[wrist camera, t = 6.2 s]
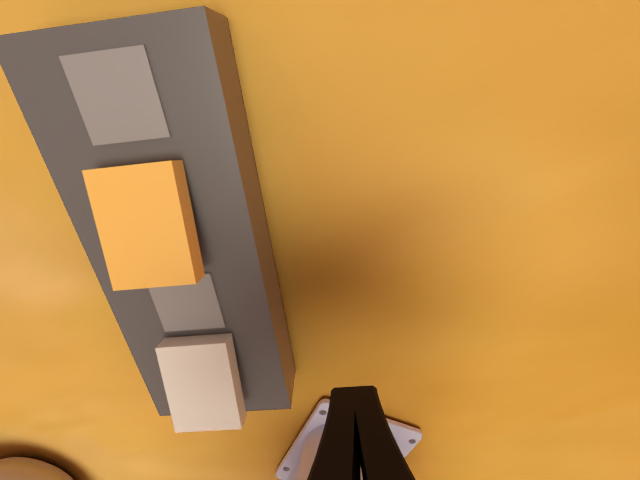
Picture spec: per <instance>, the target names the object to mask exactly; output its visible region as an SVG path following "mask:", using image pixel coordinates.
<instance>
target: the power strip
mask: <svg viewBox="0 0 640 480" xmlns="http://www.w3.org/2000/svg"><path fill="white" fill-rule="evenodd" d="M0 64H1V67H2V69H3V71H4V73H5V75H6V78H7V80H8V82H9V84H10V86H11V89H12V91H13V93H14V95H15V97H16V100H17V102H18V104H19V106H20V108H21V111H22V113H23V115H24V117H25V119H26V122H27V124H28V126H29V128H30V130H31V133H32V135H33V137H34V139H35V141H36V144H37V146H38V148H39V150H40V153H41V155H42V157H43V159H44V161H45V164H46V166H47V168H48V170H49V172H50V175H51V177H52V179H53V181H54V183H55V186H56V188H57V190H58V192H59V194H60V197H61V199H62V201H63V203H64V205H65V208H66V210H67V212H68V214H69V216H70V219H71V221H72V223H73V225H74V227H75V230H76V232H77V234H78V236H79V238H80V241H81V243H82V245H83V247H84V249H85V252H86V254H87V256H88V258H89V261H90V263H91V265H92V267H93V269H94V272H95V274H96V276H97V278H98V280H99V283H100V285H101V287H102V289H103V291H104V294H105V296H106V298H107V300H108V302H109V305H110V307H111V309H112V311H113V313H114V316H115V318H116V320H117V322H118V324H119V327H120V329H121V331H122V333H123V335H124V338H125V340H126V342H127V344H128V346H129V349H130V351H131V353H132V355H133V357H134V360H135V362H136V364H137V366H138V369H139V371H140V373H141V375H142V377H143V380H144V382H145V384H146V386H147V388H148V391H149V393H150V395H151V397H152V399H153V402H154V404H155V406H156V408H157V410H158V413H159V415H160V416H168V415H171V413H170V409H169V404H168V400H167V396H166V392H165V388H164V384H163V379H162V375H161V371H160V367H159V363H158V359H157V354H156V350H155V348H156V347H157V345H158V344H159V343H160V342H161V341H162V340H163V339H164V338H170V337H183V336H197V335H211V334H225V333H232V338H233V344H234V349H235V355H236V360H237V366H238V371H239V377H240V382H241V388H242V393H243V399H244V404H245V410H246V411H257V410H275V409H291V403H292V395H293V386H294V377H295V365H294V359H293V354H292V349H291V344H290V339H289V334H288V329H287V323H286V318H285V313H284V308H283V303H282V298H281V292H280V287H279V282H278V277H277V272H276V267H275V262H274V256H273V251H272V246H271V241H270V236H269V231H268V225H267V220H266V215H265V210H264V205H263V200H262V195H261V189H260V184H259V179H258V174H257V169H256V164H255V158H254V153H253V148H252V143H251V138H250V133H249V128H248V122H247V117H246V112H245V107H244V102H243V97H242V91H241V86H240V81H239V76H238V71H237V66H236V61H235V55H234V50H233V45H232V40H231V35H230V30H229V24H228V19H227V17H225V16H223V15H221V14H219V13H217V12H215V11H213V10H211V9H209V8H207V7H205V6H200V7H193V8H186V9H179V10H172V11H165V12H158V13H151V14H144V15H137V16H130V17H123V18H116V19H109V20H102V21H95V22H88V23H81V24H74V25H67V26H60V27H53V28H46V29H39V30H32V31H25V32H18V33H11V34H4V35H0ZM171 160H183V164H184V170H185V175H186V180H187V185H188V190H189V196H190V201H191V206H192V211H193V216H194V221H195V227H196V232H197V237H198V242H199V247H200V252H201V258H202V263H203V268H204V273H205V276H204V277H203V278H202V279H201V280H200V281H199V282H198V283H197V284H190V285H178V286H166V287H155V288H143V289H131V290H119V291H113V288H112V284H111V281H110V277H109V273H108V269H107V265H106V262H105V258H104V254H103V250H102V246H101V242H100V239H99V235H98V231H97V227H96V223H95V219H94V216H93V212H92V208H91V204H90V200H89V196H88V193H87V189H86V185H85V181H84V177H83V174H82V170H90V169H99V168H108V167H117V166H126V165H135V164H144V163H153V162H162V161H171Z"/></svg>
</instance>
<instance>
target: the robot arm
mask: <svg viewBox="0 0 640 480" xmlns="http://www.w3.org/2000/svg"><path fill="white" fill-rule="evenodd" d="M421 439H422V432H421V430H420V429H418V428H415V427H412V426H409V425H406V424H403V423H400V422H397V421H394V420H391V419H388V418H386V417H385V415H384V412H383V409H382V406H381V403H380V400H379V397H378V393H377V389H376V388H375V387H374V386H358V387H341V388H334V389H332V390H331V396H330V399H322V400H320V401H319V403H318V405H317V406H316V408H315V409H314V411H313V412H312V414H311V416H310V417H309V419H308V420H307V422H306V424H305V425H304V427H303V428H302V430H301V432H300V433H299V435H298V436H297V438H296V439H295V441H294V443H293V444H292V446H291V447H290V449H289V451H288V452H287V454H286V455H285V457H284V459H283V460H282V462H281V463H280V465H279V467H278V468H277V470H276V477H277V478H278V479H281V480H415V478H414V476H413V474H412V472H411V471H410V469H409V467H408V465H407V463H406V461H405V459H404V458H405V457H406V456H407V455H408V454H409V452H410V451H411V450H412V449H413V448H414V447H415V446H416V444H417V443H418V442H419V441H420V440H421Z"/></svg>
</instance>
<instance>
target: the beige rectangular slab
mask: <svg viewBox="0 0 640 480" xmlns="http://www.w3.org/2000/svg"><path fill="white" fill-rule="evenodd" d="M155 350H156V354H157V359H158V363H159V367H160V371H161V375H162V379H163V384H164V388H165V392H166V396H167V400H168V404H169V409H170V413H171V417H172V421H173V425H174V429H175V433H176V432H195V431H215V430H234V429H242V427H243V424H244V421H245V418H246V410H245V404H244V399H243V393H242V388H241V382H240V377H239V371H238V366H237V360H236V355H235V349H234V344H233V338H232V333H225V334H211V335H197V336H183V337H170V338H164V339H163V340H162V341H161V342H160V343H159V344H158V345H157V347H156V348H155Z"/></svg>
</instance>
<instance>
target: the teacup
mask: <svg viewBox="0 0 640 480" xmlns="http://www.w3.org/2000/svg"><path fill="white" fill-rule="evenodd" d="M0 480H74V479H73V478H72V477H71V476H70V475H68V474H67V473H66V472H64V471H63V470H61V469H60V468H58V467H56V466H53V465H51V464H49V463H47V462H44V461H40V460H37V459H33V458H26V457H9V458H4V459H0Z"/></svg>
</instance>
